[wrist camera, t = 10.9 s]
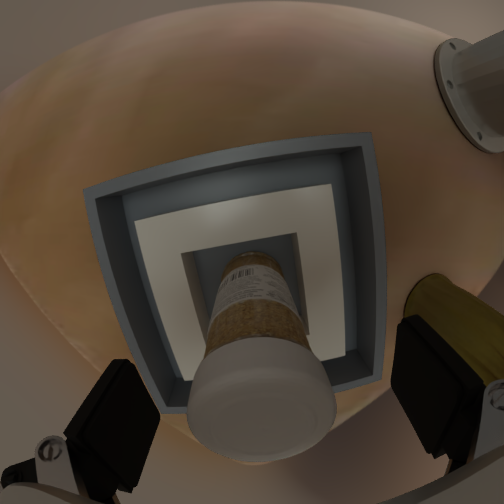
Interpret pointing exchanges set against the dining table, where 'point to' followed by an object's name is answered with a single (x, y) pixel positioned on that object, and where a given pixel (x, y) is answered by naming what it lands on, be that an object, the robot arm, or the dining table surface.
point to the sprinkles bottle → (258, 370)
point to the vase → (462, 324)
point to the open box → (247, 246)
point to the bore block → (239, 230)
